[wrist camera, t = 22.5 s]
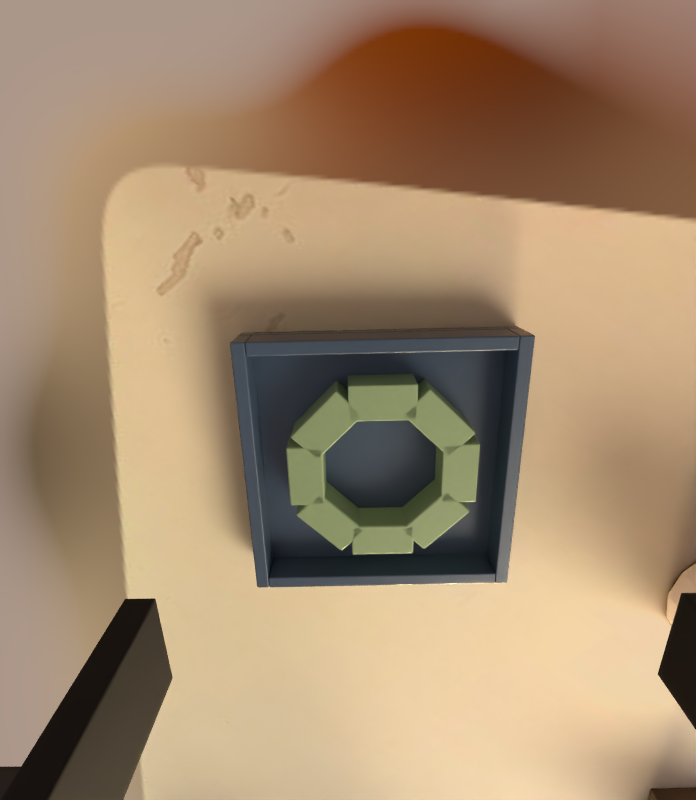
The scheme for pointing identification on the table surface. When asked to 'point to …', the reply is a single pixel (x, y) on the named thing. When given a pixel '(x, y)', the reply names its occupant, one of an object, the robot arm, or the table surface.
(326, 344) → the tray
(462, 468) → the ring
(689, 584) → the white cup
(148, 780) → the table surface
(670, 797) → the peg stand
